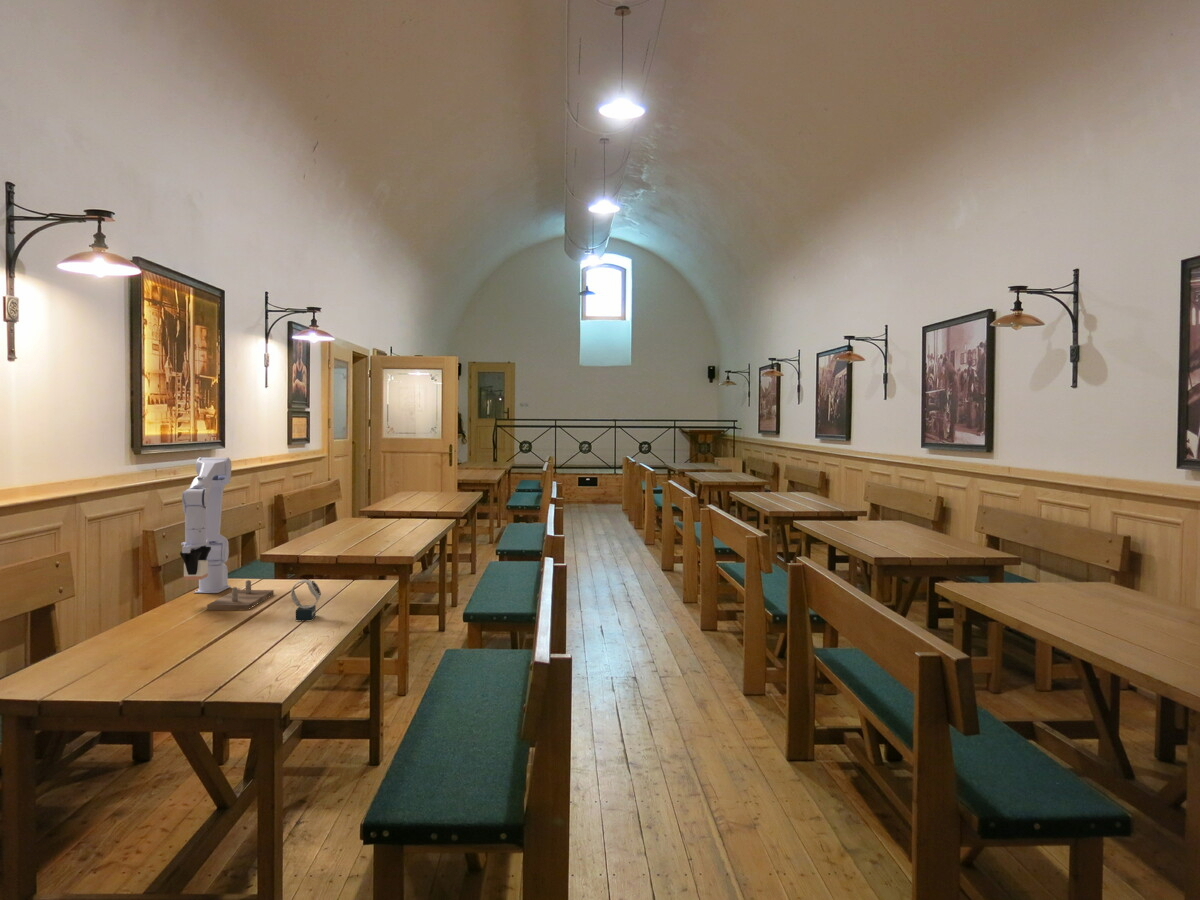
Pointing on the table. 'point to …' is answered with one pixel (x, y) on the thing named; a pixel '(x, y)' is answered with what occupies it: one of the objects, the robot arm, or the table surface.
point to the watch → (306, 610)
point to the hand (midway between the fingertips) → (196, 572)
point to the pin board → (240, 598)
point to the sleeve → (201, 571)
